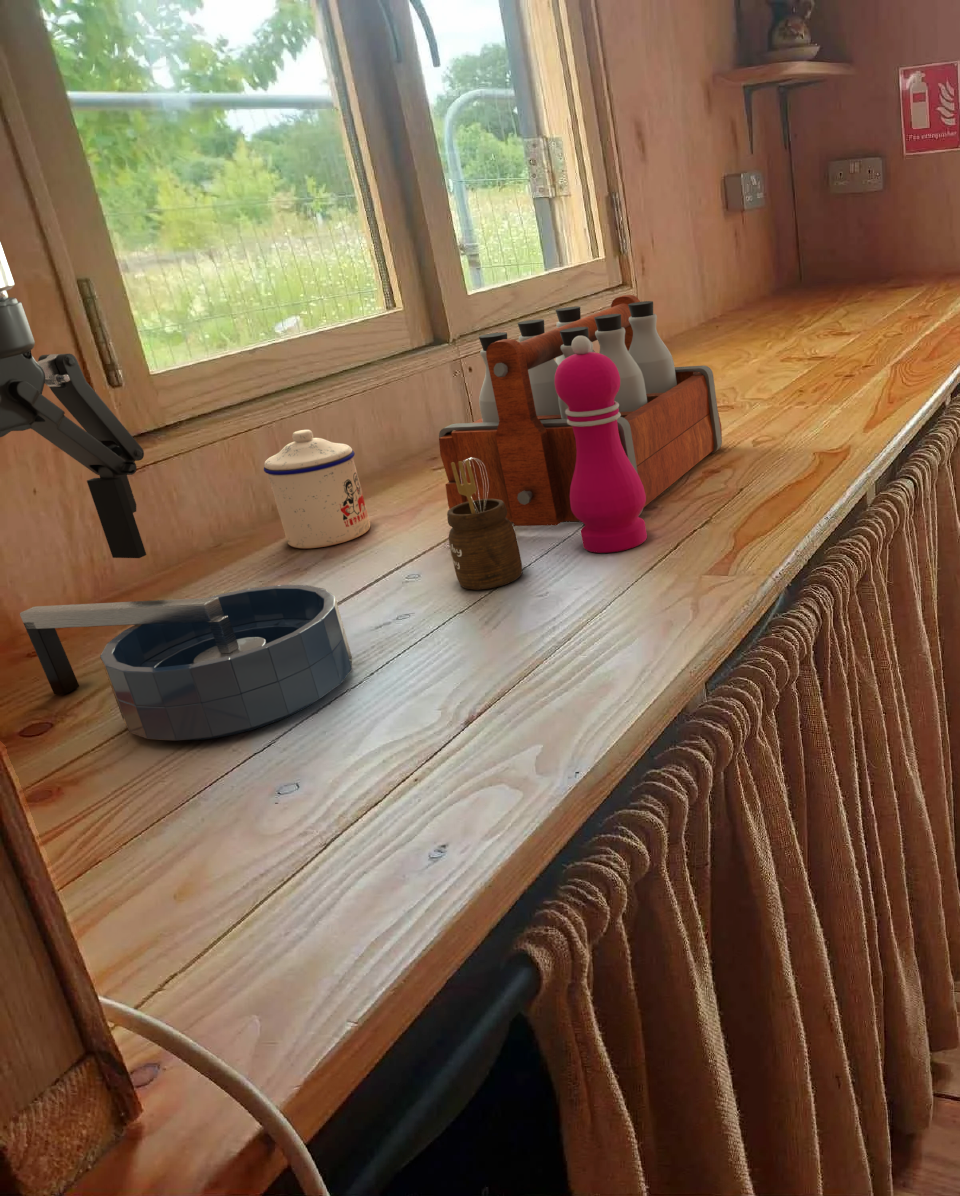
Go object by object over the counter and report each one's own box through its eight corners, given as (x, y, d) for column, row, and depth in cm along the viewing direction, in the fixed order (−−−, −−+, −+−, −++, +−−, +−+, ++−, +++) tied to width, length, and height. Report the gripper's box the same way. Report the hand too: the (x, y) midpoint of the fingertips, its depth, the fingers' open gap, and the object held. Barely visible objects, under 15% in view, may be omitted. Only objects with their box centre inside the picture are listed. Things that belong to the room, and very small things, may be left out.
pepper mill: (630, 556, 105) (594, 341, 98) (564, 554, 108) (524, 345, 101) (664, 530, 112) (633, 327, 104) (601, 529, 114) (566, 330, 107)
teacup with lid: (367, 541, 119) (339, 433, 115) (277, 555, 117) (245, 447, 113) (381, 510, 130) (356, 411, 126) (299, 523, 128) (271, 423, 124)
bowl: (77, 745, 79) (48, 668, 77) (234, 651, 93) (213, 584, 91) (259, 756, 75) (233, 675, 73) (395, 655, 89) (377, 585, 86)
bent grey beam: (292, 671, 85) (263, 586, 83) (246, 702, 81) (213, 612, 78) (87, 676, 91) (54, 597, 89) (33, 705, 87) (-3, 622, 84)
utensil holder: (525, 564, 106) (500, 440, 102) (521, 586, 101) (494, 456, 96) (462, 573, 106) (433, 449, 101) (454, 596, 100) (424, 466, 95)
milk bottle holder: (439, 535, 118) (396, 351, 111) (581, 447, 149) (555, 299, 142) (624, 533, 112) (591, 338, 105) (732, 442, 143) (712, 287, 136)
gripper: (-198, 331, 65) (-60, 662, 73) (140, 274, 87) (218, 533, 95) (-288, 336, 67) (-144, 657, 75) (65, 279, 89) (147, 532, 97)
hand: (58, 588), depth 85 cm, fingers open, 13 cm apart
